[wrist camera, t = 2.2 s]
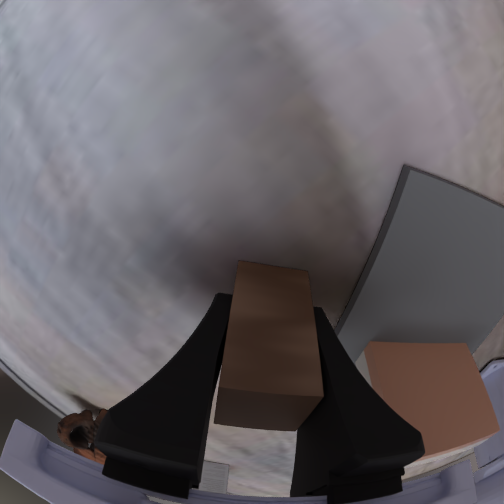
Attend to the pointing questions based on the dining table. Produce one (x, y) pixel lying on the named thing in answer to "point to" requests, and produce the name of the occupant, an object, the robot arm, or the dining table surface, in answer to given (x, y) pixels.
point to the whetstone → (432, 393)
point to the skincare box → (214, 477)
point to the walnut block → (269, 351)
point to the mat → (430, 269)
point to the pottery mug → (82, 434)
